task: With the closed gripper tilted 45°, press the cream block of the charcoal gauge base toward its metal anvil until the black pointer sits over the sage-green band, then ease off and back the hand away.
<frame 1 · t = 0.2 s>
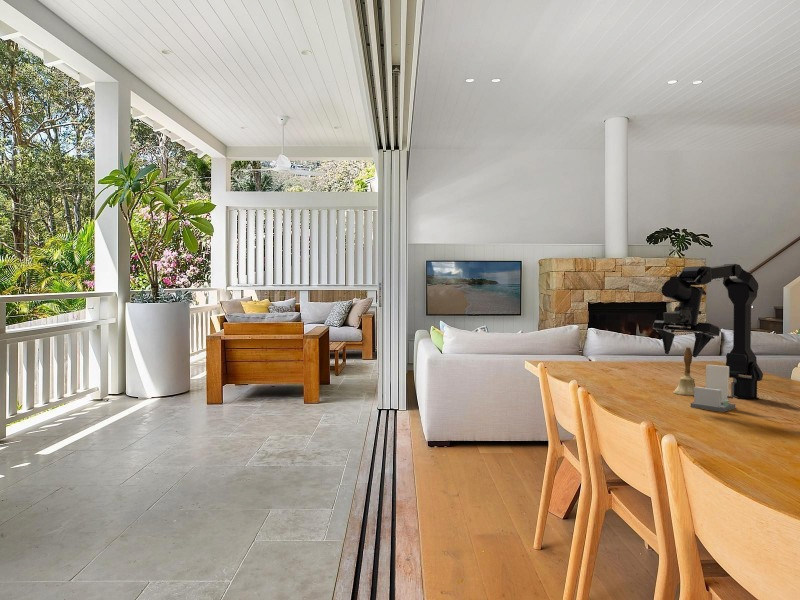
hand: (680, 355, 169), 16 cm above the table, tool pointing down, fingers open, 9 cm apart
cream block: (717, 383, 170), point 7 cm above the table, slide at 0.0 cm
hand bell: (686, 394, 192), on the table
gauge base: (712, 407, 169), on the table
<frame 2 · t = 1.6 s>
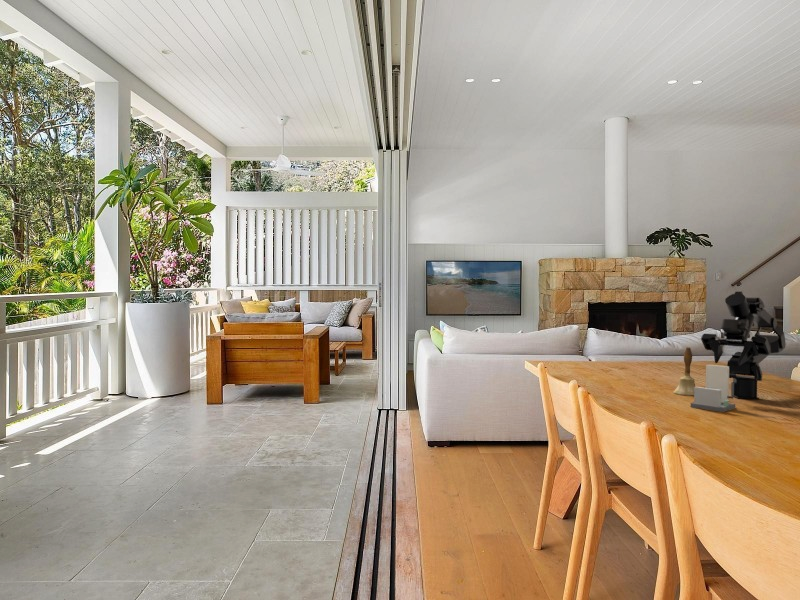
hand: (727, 363, 175), 13 cm above the table, tool tilted 45°, fingers open, 6 cm apart
nothing on the table moved.
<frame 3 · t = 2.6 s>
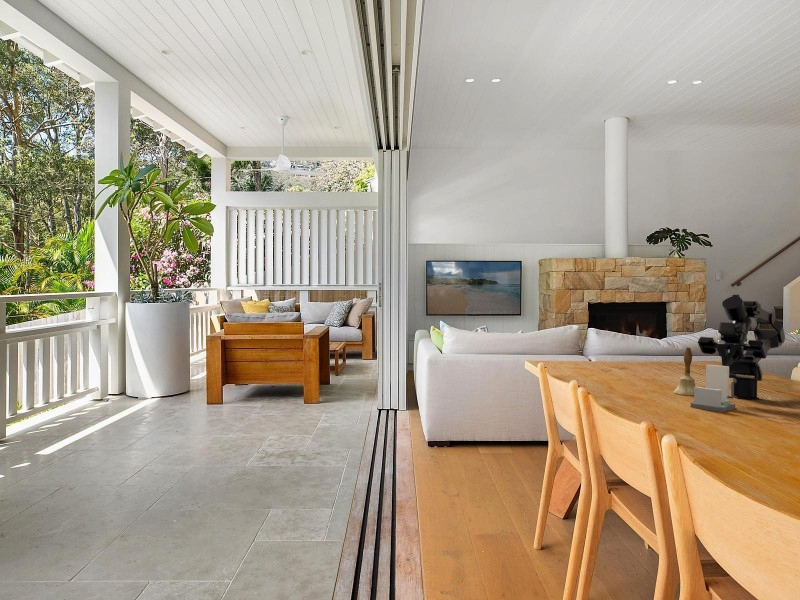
hand: (723, 367, 174), 12 cm above the table, tool tilted 45°, fingers closed
nothing on the table moved.
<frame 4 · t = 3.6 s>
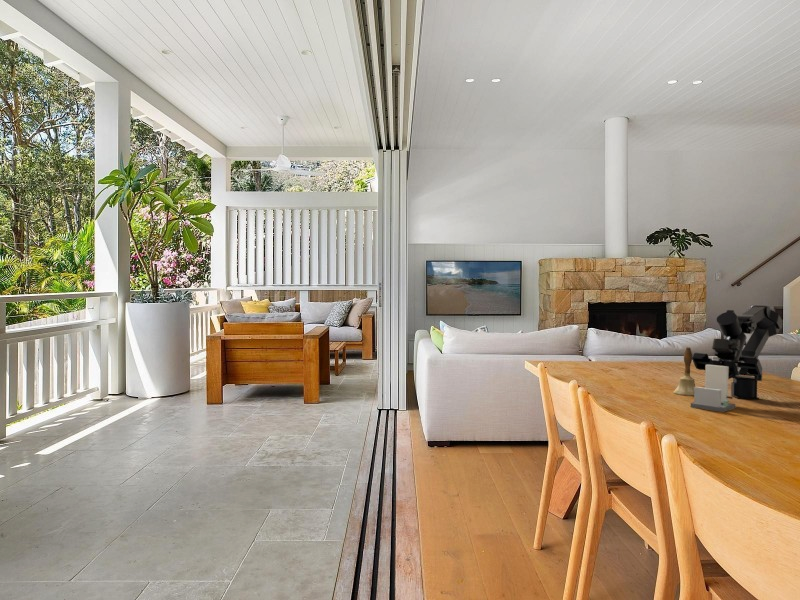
hand: (718, 384, 171), 7 cm above the table, tool tilted 45°, fingers closed, pressing on cream block
cream block: (716, 383, 170), point 7 cm above the table, slide at 0.5 cm, touching gripper
everything else where it was.
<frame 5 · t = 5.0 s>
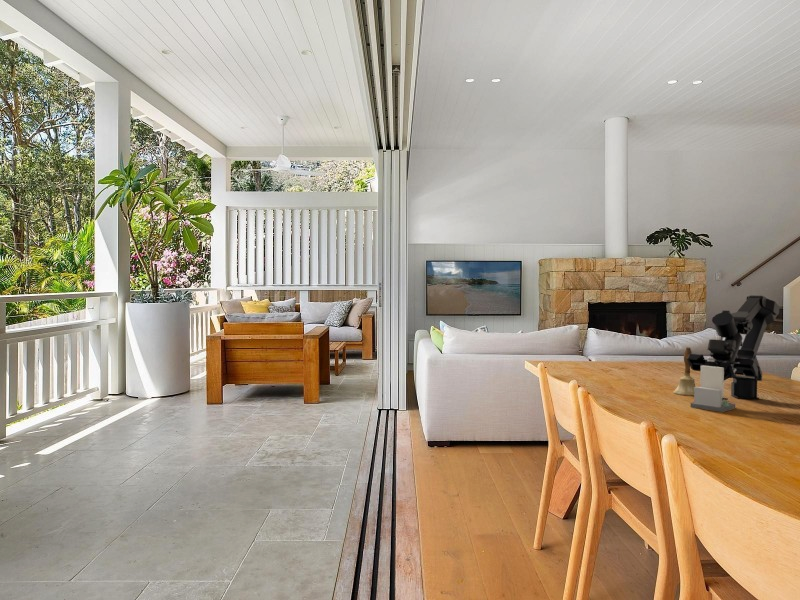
hand: (713, 385, 169), 7 cm above the table, tool tilted 45°, fingers closed
cream block: (711, 384, 168), point 7 cm above the table, slide at 4.0 cm
everything else where it was.
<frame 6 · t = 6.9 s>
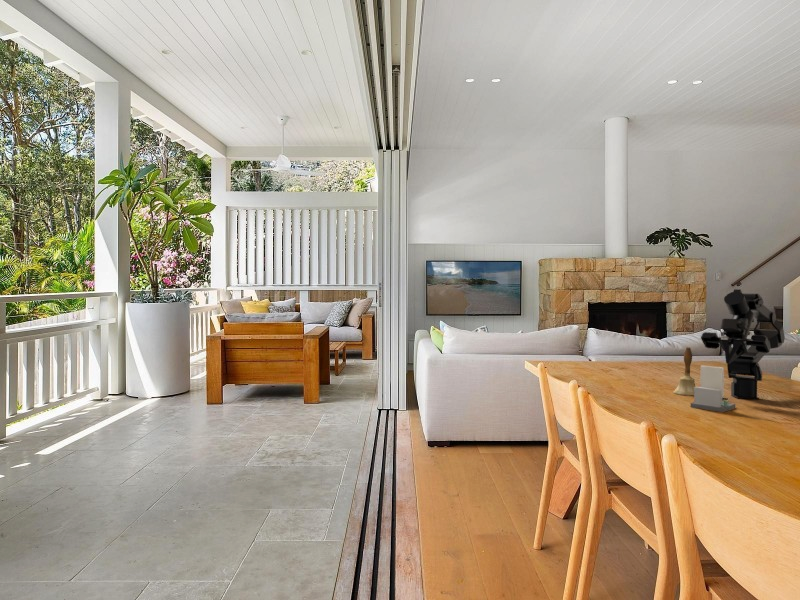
hand: (727, 363, 175), 13 cm above the table, tool tilted 40°, fingers closed
nothing on the table moved.
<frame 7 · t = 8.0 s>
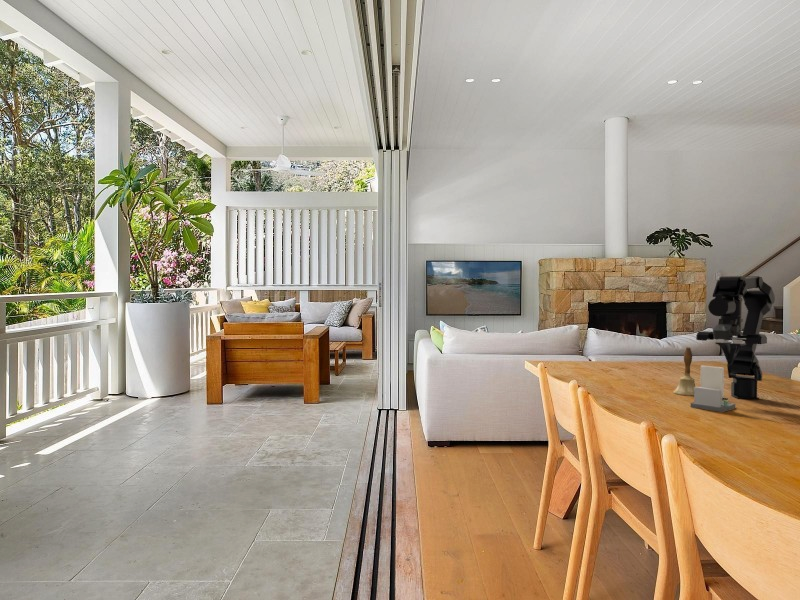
hand: (730, 364, 177), 12 cm above the table, tool pointing down, fingers closed
nothing on the table moved.
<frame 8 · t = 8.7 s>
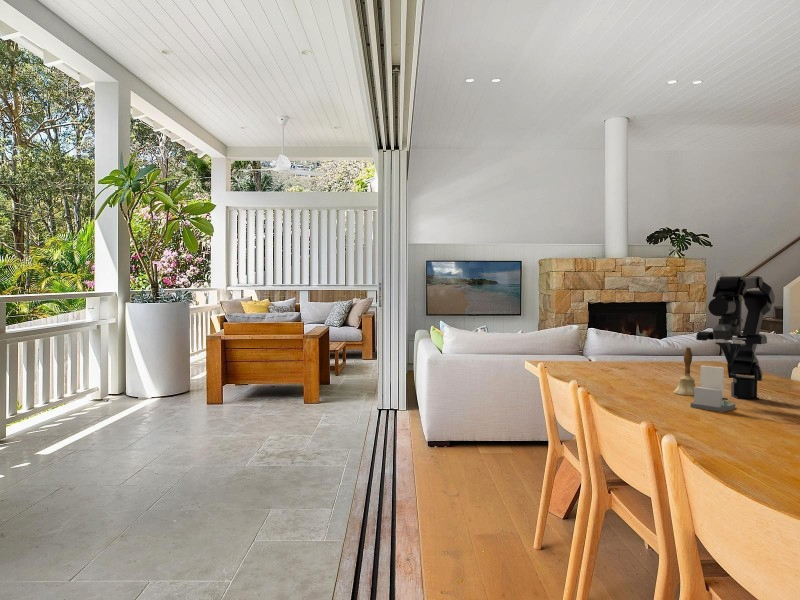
hand: (730, 364, 177), 12 cm above the table, tool pointing down, fingers closed
nothing on the table moved.
at the end: cream block slide at 4.0 cm; the gripper is holding nothing; hand bell moved 0.3 cm from its start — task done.
